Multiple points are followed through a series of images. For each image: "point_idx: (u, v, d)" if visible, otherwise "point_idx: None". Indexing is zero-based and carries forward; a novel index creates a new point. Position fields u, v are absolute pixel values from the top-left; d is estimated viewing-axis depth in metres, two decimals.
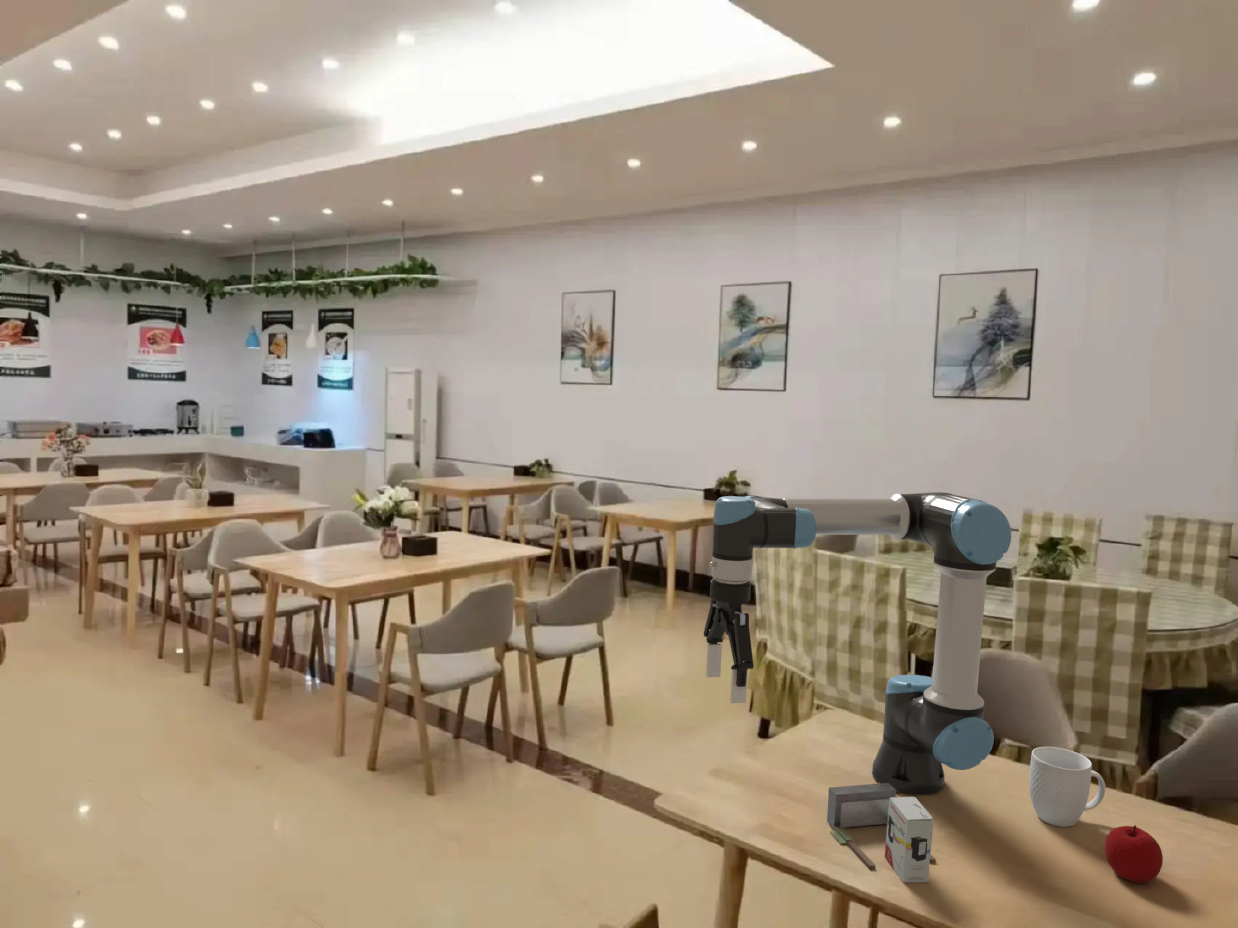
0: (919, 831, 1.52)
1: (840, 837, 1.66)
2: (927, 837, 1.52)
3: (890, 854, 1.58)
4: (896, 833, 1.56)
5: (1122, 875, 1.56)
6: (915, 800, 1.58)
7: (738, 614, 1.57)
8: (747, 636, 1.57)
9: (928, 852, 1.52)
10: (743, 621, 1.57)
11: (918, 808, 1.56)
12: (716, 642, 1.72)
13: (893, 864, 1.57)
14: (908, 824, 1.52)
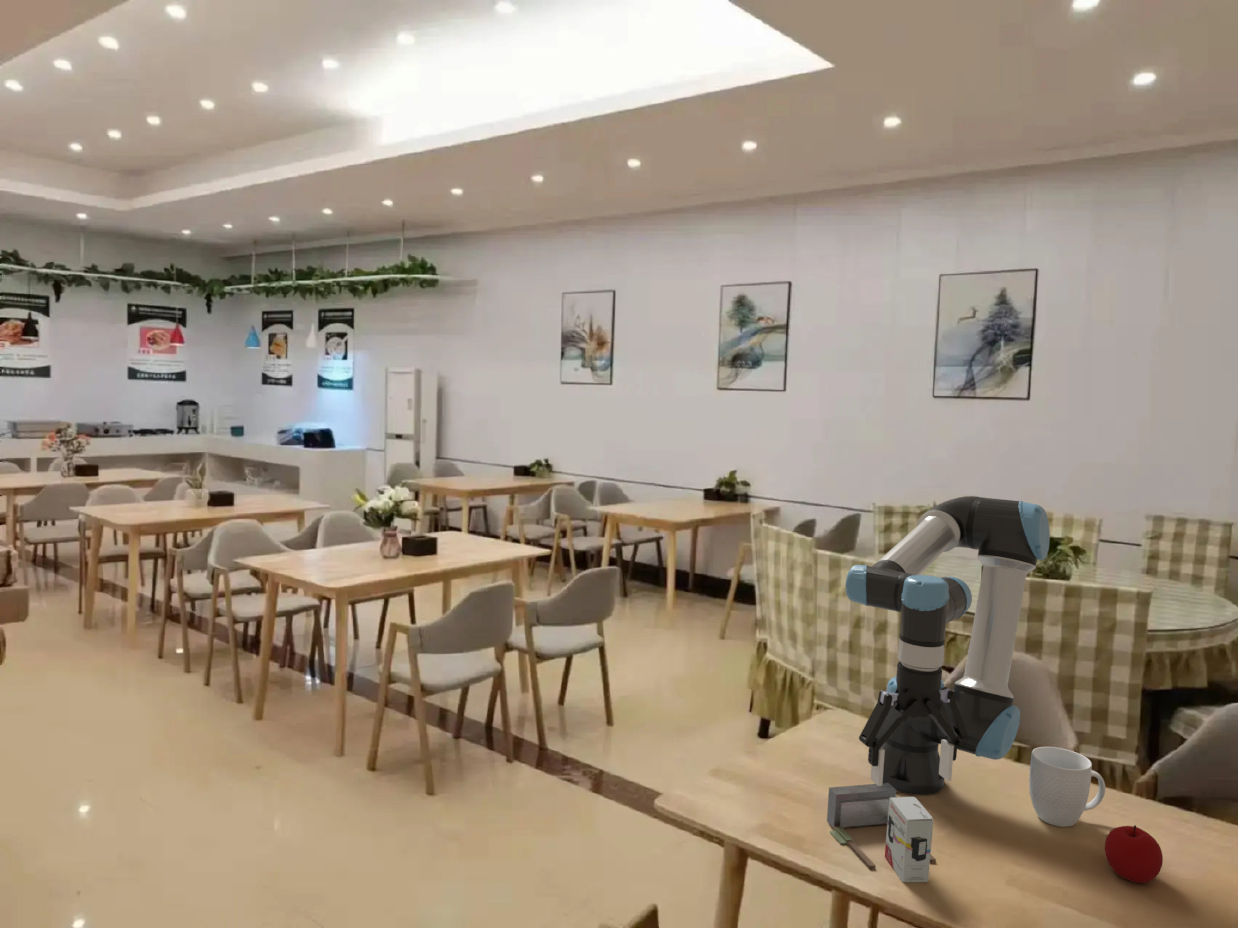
0: (919, 831, 1.52)
1: (840, 837, 1.66)
2: (927, 837, 1.52)
3: (890, 854, 1.58)
4: (896, 833, 1.56)
5: (1122, 875, 1.56)
6: (915, 800, 1.58)
7: (882, 691, 1.53)
8: (878, 715, 1.52)
9: (928, 852, 1.52)
10: (882, 700, 1.52)
11: (918, 808, 1.56)
12: (950, 742, 1.56)
13: (893, 864, 1.57)
14: (908, 824, 1.52)
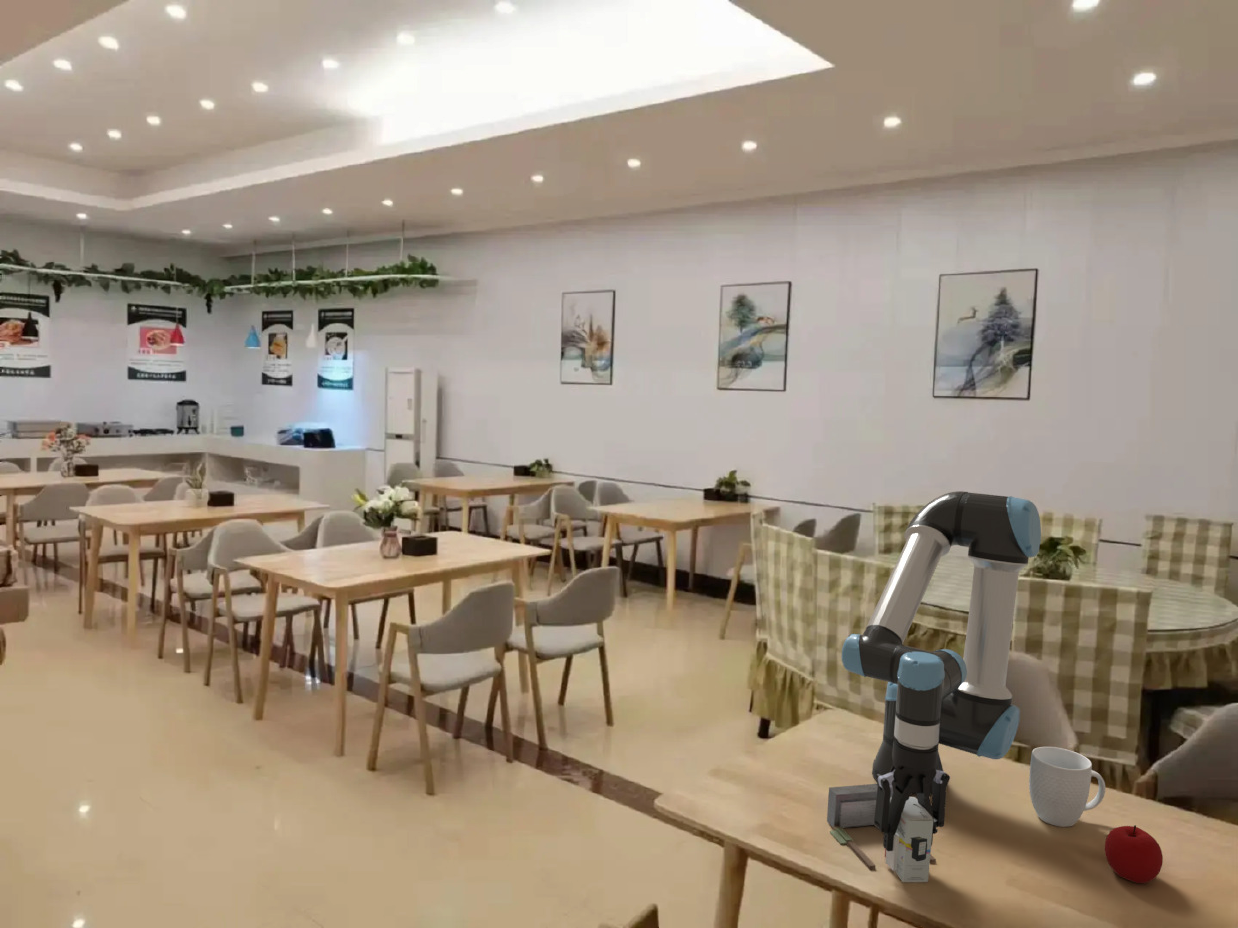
0: (919, 831, 1.52)
1: (840, 837, 1.66)
2: (927, 837, 1.52)
3: None
4: None
5: (1122, 875, 1.56)
6: (915, 800, 1.58)
7: (878, 776, 1.54)
8: (882, 801, 1.54)
9: (928, 852, 1.52)
10: (880, 785, 1.54)
11: (918, 808, 1.56)
12: None
13: None
14: (908, 824, 1.52)
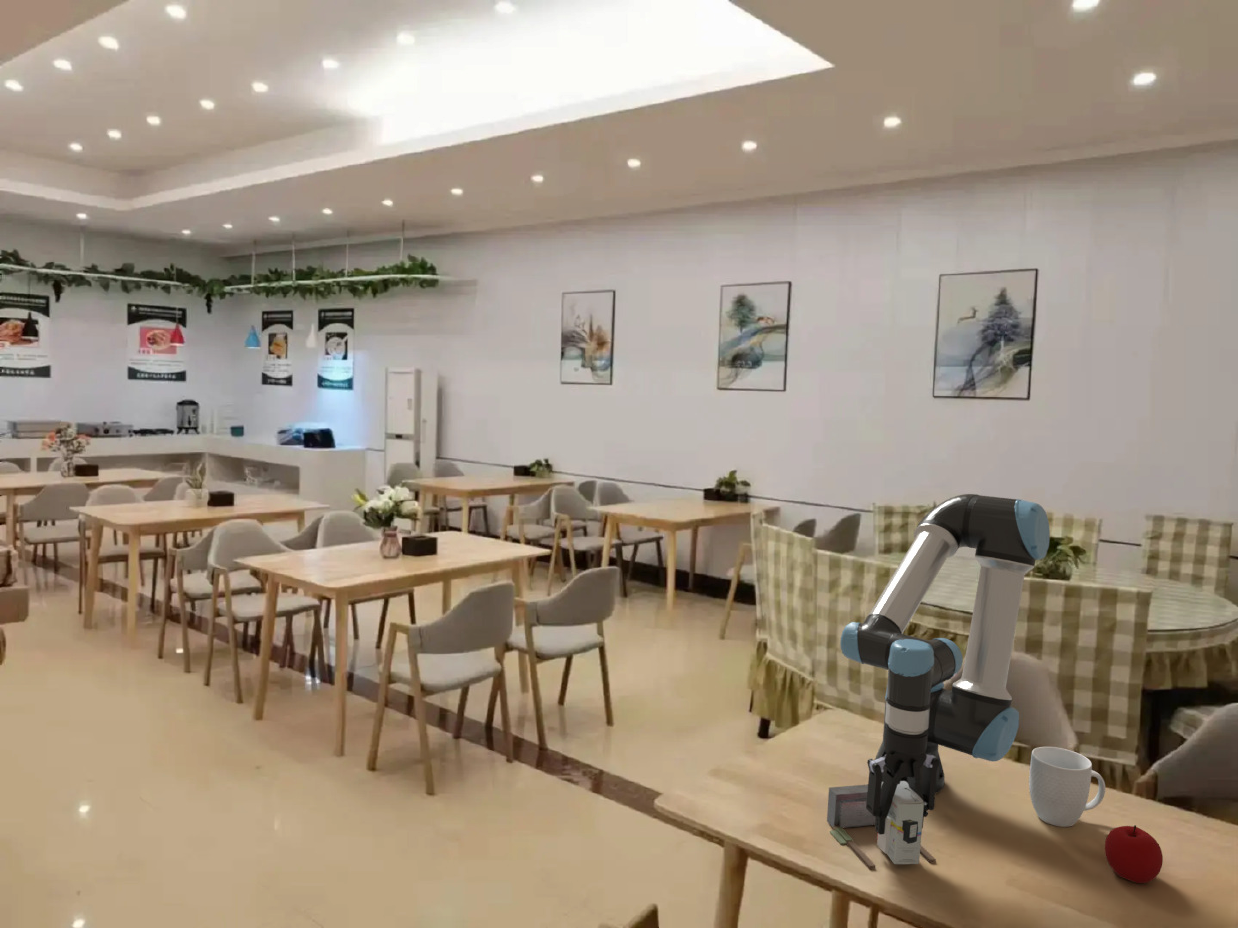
0: (910, 814, 1.55)
1: (840, 837, 1.66)
2: (918, 820, 1.55)
3: None
4: (888, 816, 1.59)
5: (1122, 875, 1.56)
6: (906, 784, 1.62)
7: (869, 761, 1.58)
8: (873, 785, 1.57)
9: (919, 834, 1.56)
10: (872, 770, 1.57)
11: (909, 792, 1.59)
12: None
13: None
14: (899, 808, 1.55)
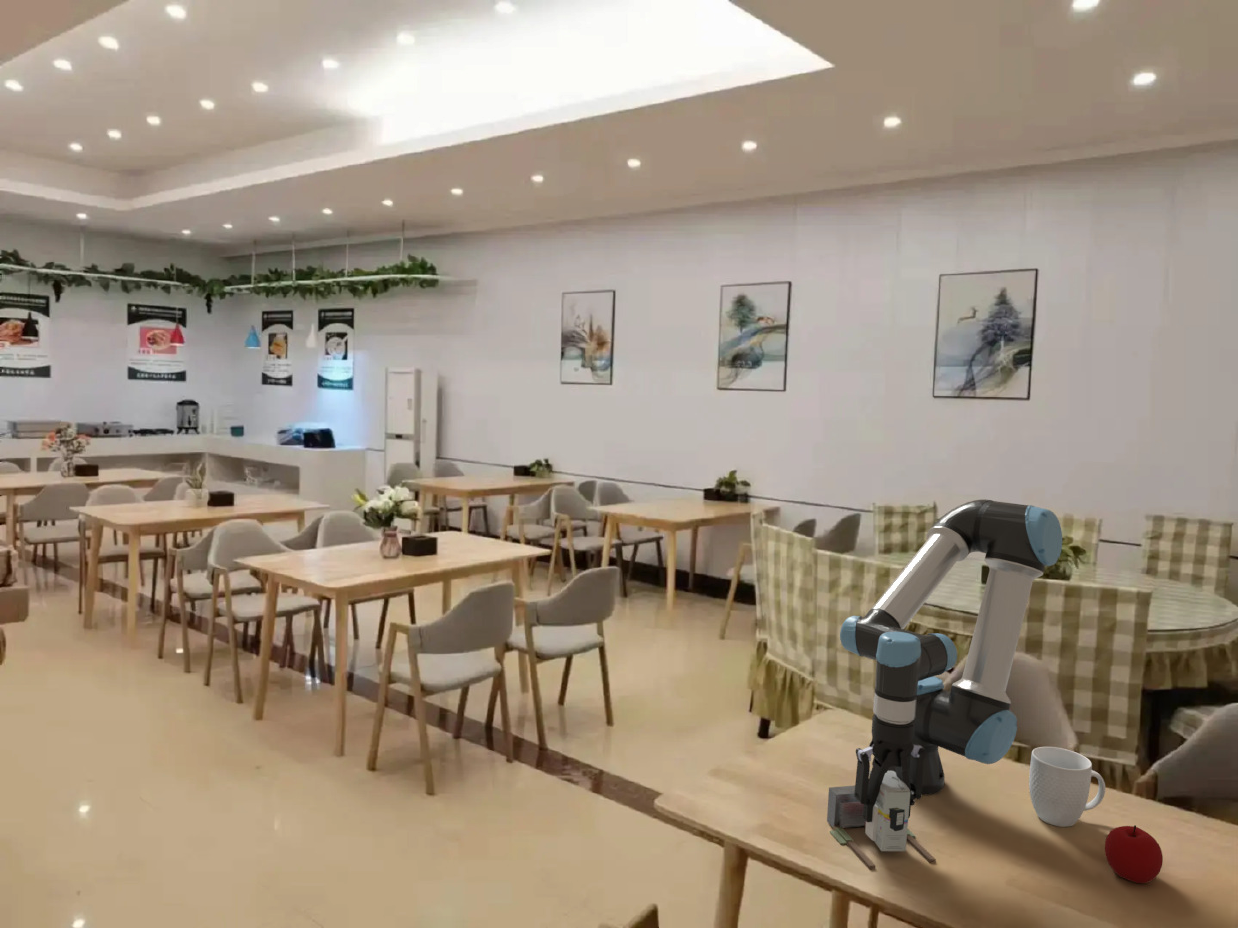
0: (897, 802, 1.59)
1: (840, 837, 1.66)
2: (904, 808, 1.59)
3: None
4: (876, 804, 1.63)
5: (1122, 875, 1.56)
6: (894, 774, 1.66)
7: (857, 750, 1.62)
8: (861, 774, 1.61)
9: (905, 822, 1.60)
10: (860, 759, 1.61)
11: (896, 781, 1.63)
12: None
13: None
14: (886, 796, 1.59)
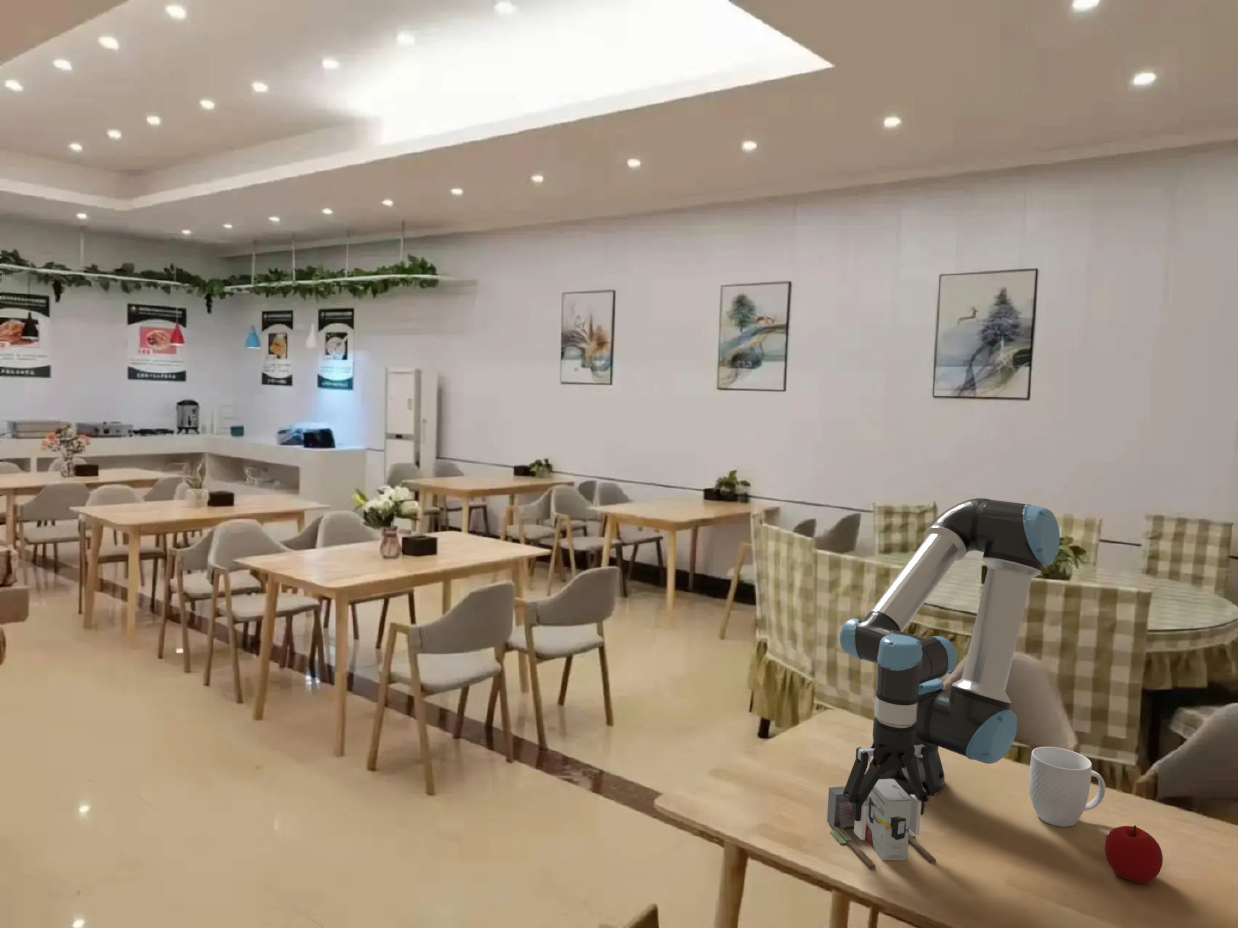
0: (899, 811, 1.59)
1: (840, 837, 1.66)
2: (906, 817, 1.59)
3: (871, 834, 1.65)
4: (877, 813, 1.62)
5: (1122, 875, 1.56)
6: (894, 782, 1.65)
7: (858, 748, 1.61)
8: (857, 772, 1.60)
9: (907, 831, 1.59)
10: (859, 757, 1.60)
11: (897, 789, 1.63)
12: (918, 797, 1.64)
13: (874, 843, 1.63)
14: (888, 805, 1.58)
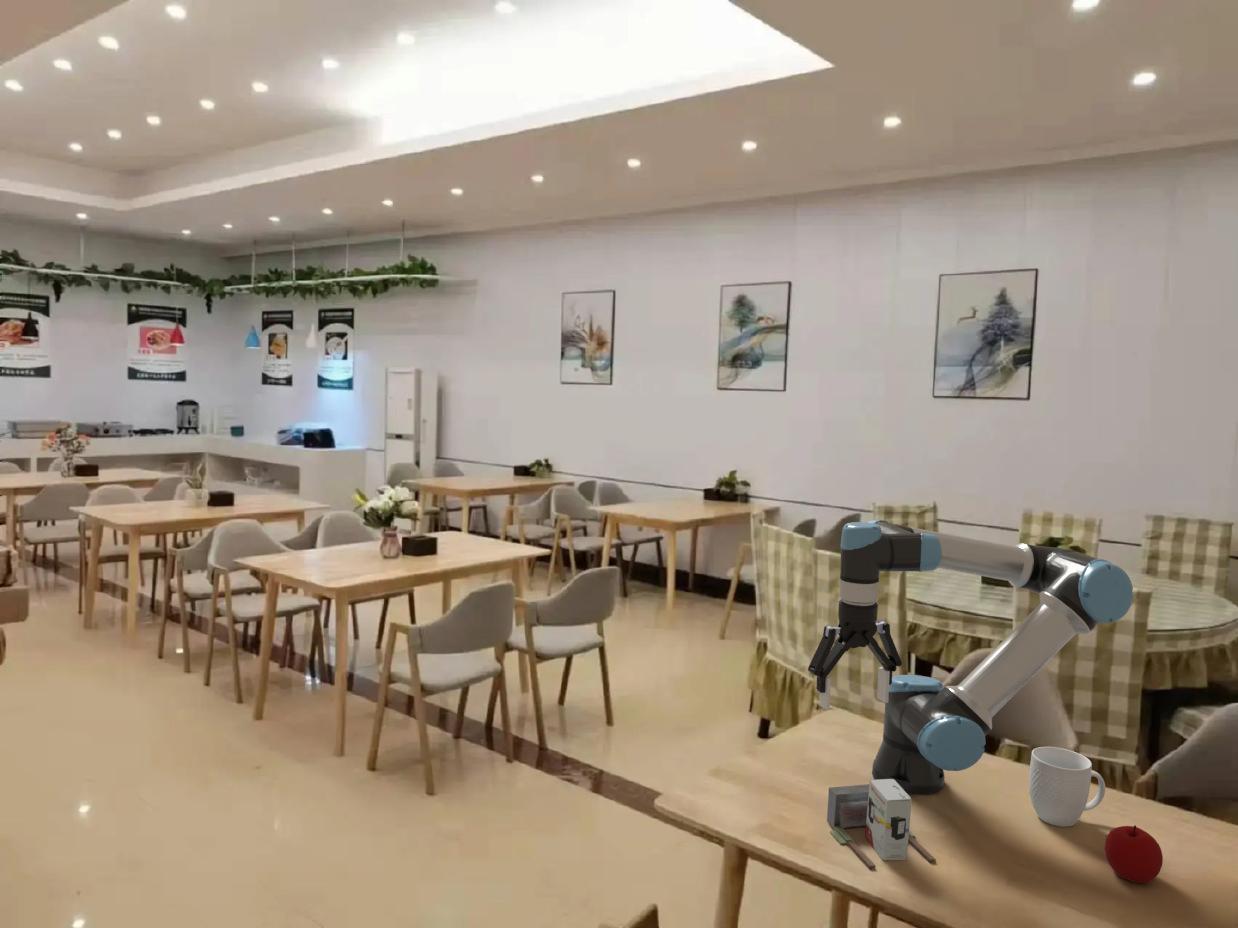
0: (899, 811, 1.59)
1: (840, 837, 1.66)
2: (906, 817, 1.59)
3: (871, 834, 1.65)
4: (877, 813, 1.62)
5: (1122, 875, 1.56)
6: (894, 782, 1.65)
7: (827, 626, 1.72)
8: (824, 647, 1.71)
9: (907, 831, 1.59)
10: (827, 633, 1.71)
11: (897, 789, 1.63)
12: (886, 668, 1.76)
13: (874, 843, 1.63)
14: (888, 805, 1.58)
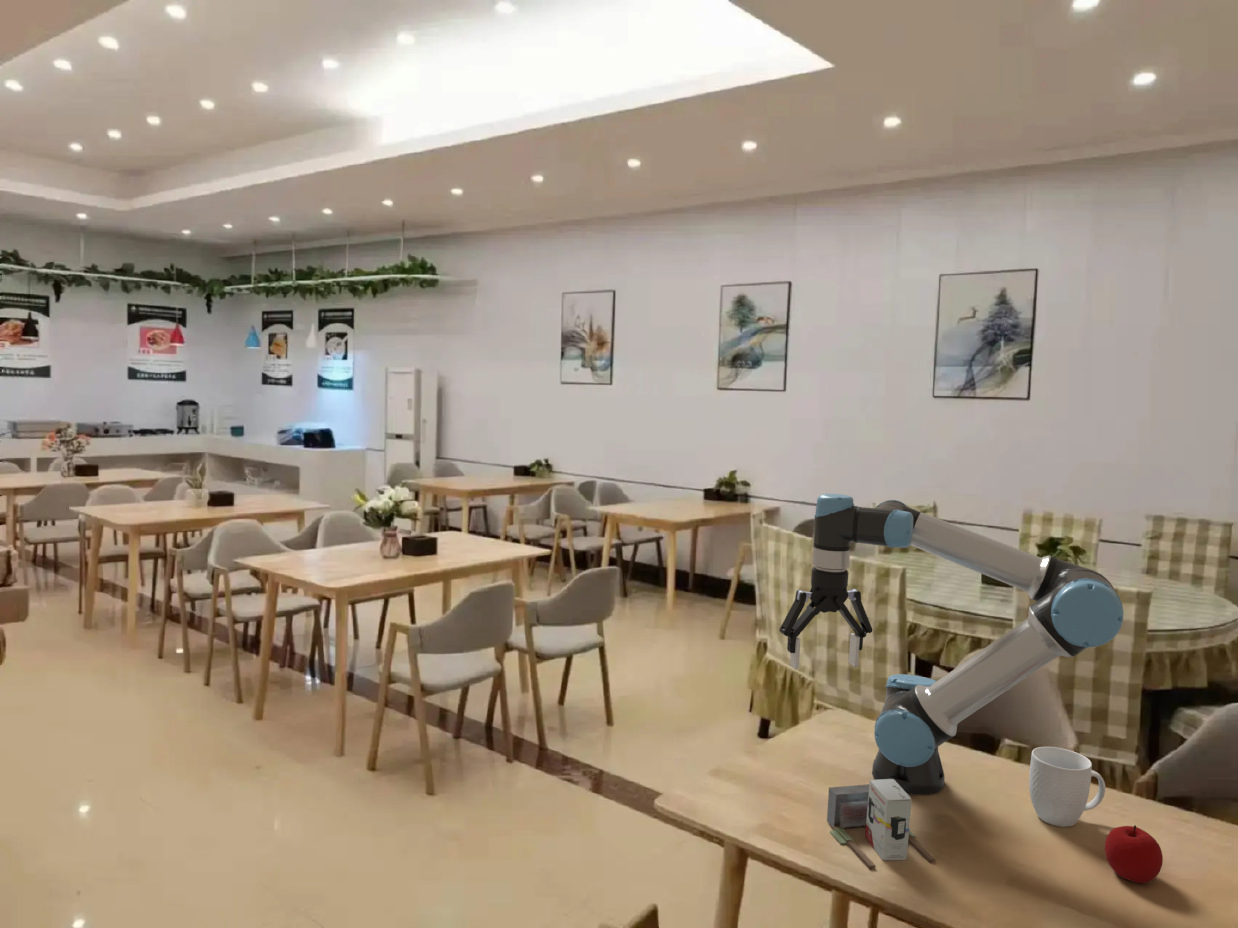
0: (898, 811, 1.59)
1: (840, 837, 1.66)
2: (906, 817, 1.59)
3: (871, 834, 1.65)
4: (876, 813, 1.62)
5: (1122, 875, 1.56)
6: (894, 782, 1.65)
7: (799, 590, 1.82)
8: (794, 609, 1.81)
9: (907, 831, 1.59)
10: (798, 597, 1.81)
11: (897, 789, 1.63)
12: (857, 634, 1.85)
13: (874, 843, 1.63)
14: (888, 805, 1.58)
